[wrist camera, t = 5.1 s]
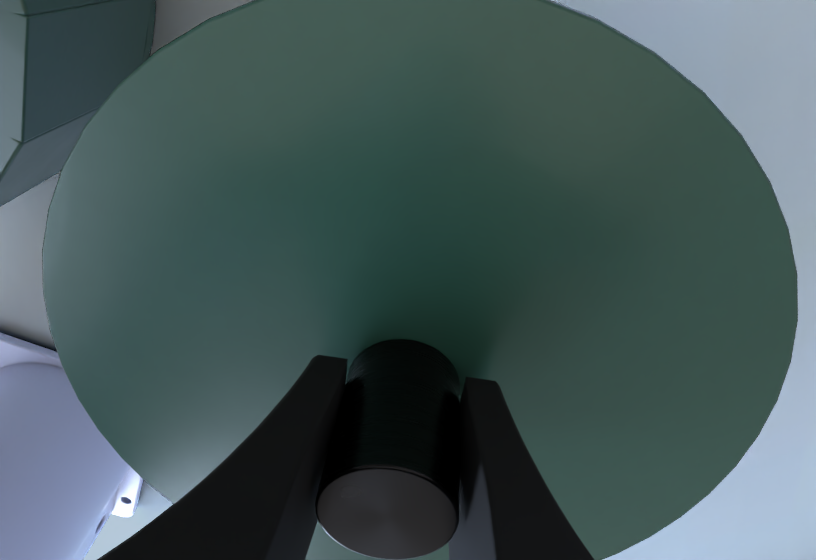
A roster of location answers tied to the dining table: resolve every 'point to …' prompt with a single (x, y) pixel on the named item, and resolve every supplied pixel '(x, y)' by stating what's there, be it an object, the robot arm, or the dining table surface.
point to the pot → (60, 77)
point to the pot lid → (423, 261)
